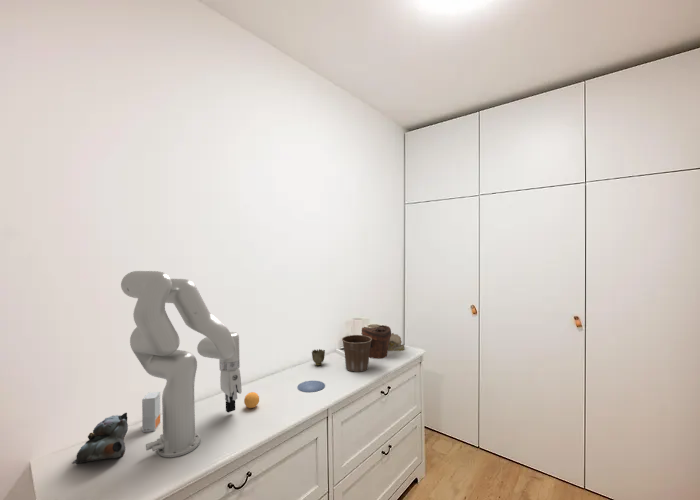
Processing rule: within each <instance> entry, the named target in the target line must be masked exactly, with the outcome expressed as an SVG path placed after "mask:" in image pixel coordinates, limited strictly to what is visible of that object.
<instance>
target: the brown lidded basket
mask: <svg viewBox="0 0 700 500" xmlns="http://www.w3.org/2000/svg"><path fill="white" fill-rule="evenodd" d="M391 330H392V329H391V327H390V326H387V325H385V324H384V325H383V324H382V325H380V326H376V327H370V328H369V327H362V328H361V334H360V335H364V336H368V337H370V338H372V341H371V346H370V351H369V359H384V358H386V357H387V356H388V346H389V341H390V337H391V334H392V331H391Z"/></svg>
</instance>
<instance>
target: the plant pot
mask: <svg viewBox="0 0 700 500" xmlns="http://www.w3.org/2000/svg"><path fill="white" fill-rule="evenodd" d="M371 341H372V338H370V337H368V336H364V335H362V334H352V335H351V334H350V335H346V336H343V337H342V338H341V342H342V346H343V350H344V360H345V361H344V363H345V369H346V370H347V371H349V372H354V373H362V372H366V371H367V370H368V369H369V362H370V361H369V360H370V357H369V351H370V346H371Z"/></svg>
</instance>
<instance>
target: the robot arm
mask: <svg viewBox="0 0 700 500" xmlns="http://www.w3.org/2000/svg"><path fill="white" fill-rule="evenodd" d="M120 288H121V290H122V292H123V294H124V295H126V296H128V297H131V298H134V299H137V301H136V304H135V305H134V306H135V307H134V309H133V314H132V315H133V321H134V323H135V324H134V325H136V328H134V329H133V331H132V332H131V334H130V337H129V344H130V345H129V346H130V349H131V350H132V353H133V354H134V355H135V357H136V358H137V360H138V362H139V364H140V365H141V366H142V367H143V369H144V370H145V371H146V373H147V374H148V375H149V376H152V377H155V378H159V379H164V380H165V381H166V383H165V386H164V388H163V391H162V395H161V398H162V399H161V405H162V434H160V436H159V438H157V439H156V440H155V441H151V442H148V443H146V444H145V450H146V451H149V450H152V452H156V451H157V454H158V455H159V456H161V457H163V458H175V457H176V458H177V457H180V456H183V455H186V454H188V453H190V452H192V451H194V450H195V449H196V448H197V447H198V446H199V445H200V443H201V436H200V434H198V433H197V432H196V415H195V414H196V413H195V411H196V409H195V407H196V406H195V401H196V400H195V382H196V374H197V371H198V370H197V368H198V361H197V358H196V356H195V355H194V354H193V353H191V352H189V351H186V350H180V349H179V346H180V343H181V340H180V336H179V333H178V332H177V330H176V328H175V327H174V324H173V322H172V321H171V319H170V317H169V315H168V314H167V310H166V304H173V305H174V307H175V309H176V310H177V312H178V313H179V315H180V317H181V319H182V320H183V322H184V323H185V325H186V326H187V327H188V328H189V329H192V330H193V331H195V332H197V333H198V334H199V333H200V334H201V335H203V336H204V338H202V339H201V340H199V342H198V344H197V347H196V351H197V353H198V354H199V355H200V356H202V357H203V358H209V359H216V360H219V363H218V364H219V371H220V377H219V378H220V383H219V384H220V389H221V392H223V393H224V400H225V412H227V413H231V412H234V411H235V410H236V400H238V394H239V395H241V394H242V393H243V392H242V389H243V388H242V376H241V371H240V367H241V364H240V360H241V359H240V335H239V333H237V332H234V331H230V330H229V328H228V327H227V326H226V325H225V324H224V323H223V322H222V321H221V320H219V319H218V318H217V317H216V316H215V315H214V314H213V313H211V312H210V311H209V309H208V306H207V305H206V303H205V301H204V298H203V297H202V294H201V293H200V291H199V290H198V288H197V286H196V284H195V282H193V281H192V280H189V279H186V278H171V277H170V276H169V275H168V274H167V273H165V272H164V271H156V270H135V271H134V270H133V271H130V272H128V273H127V274H126V275H124V276H123V277H122V279H121V282H120Z"/></svg>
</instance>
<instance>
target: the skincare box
mask: <svg viewBox="0 0 700 500" xmlns="http://www.w3.org/2000/svg"><path fill="white" fill-rule="evenodd" d="M141 400H142V401H141V402H142V406H141V408H142V413H141V415H142V416H141V418H142V420H141V421H142V424H141V425H142V433H149V432H155V431H156V430H157V429H158V427H159V426H160V424H161V391H153V392H148V393H147V394H146V395H144V397H143V398H142V399H141Z"/></svg>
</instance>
